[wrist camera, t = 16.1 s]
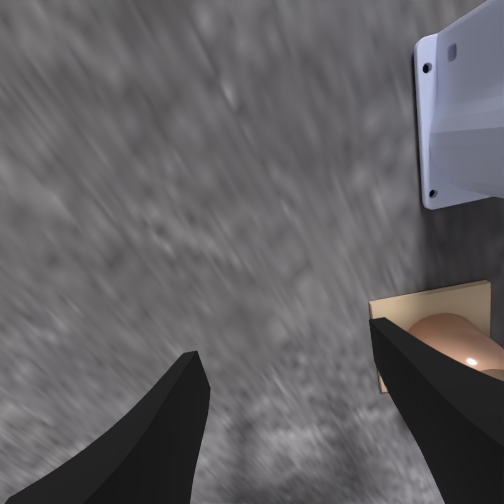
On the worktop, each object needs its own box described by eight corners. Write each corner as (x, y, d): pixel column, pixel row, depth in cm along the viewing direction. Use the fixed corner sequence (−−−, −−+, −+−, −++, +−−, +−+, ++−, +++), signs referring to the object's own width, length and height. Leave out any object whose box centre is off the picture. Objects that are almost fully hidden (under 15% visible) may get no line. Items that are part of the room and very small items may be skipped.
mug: (397, 320, 22) (435, 369, 17) (479, 306, 21) (542, 353, 16) (405, 412, 24) (439, 477, 20) (478, 402, 24) (531, 466, 19)
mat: (368, 301, 22) (371, 305, 21) (485, 279, 21) (490, 282, 20) (380, 387, 24) (382, 392, 24) (484, 371, 23) (489, 376, 23)
